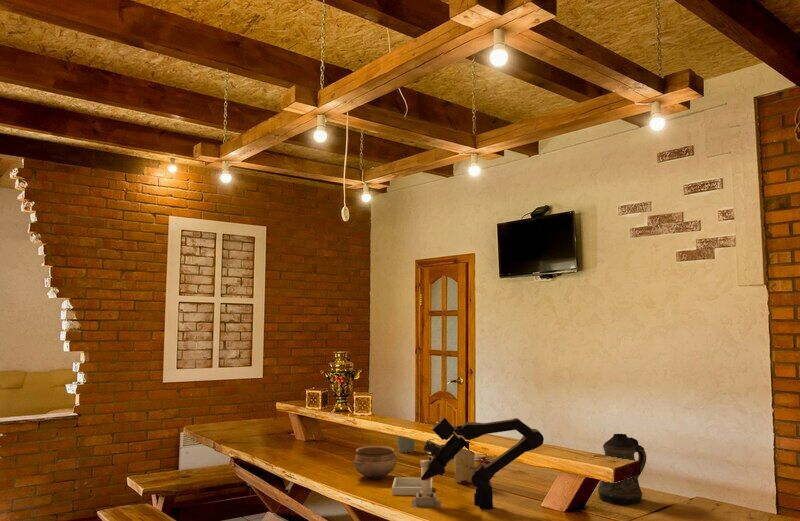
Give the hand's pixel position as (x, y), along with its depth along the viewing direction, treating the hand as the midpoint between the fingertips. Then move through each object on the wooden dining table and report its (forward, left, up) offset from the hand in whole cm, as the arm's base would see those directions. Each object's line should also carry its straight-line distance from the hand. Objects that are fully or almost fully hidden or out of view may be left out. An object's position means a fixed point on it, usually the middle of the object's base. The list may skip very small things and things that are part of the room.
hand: (422, 478), depth 239 cm
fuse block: (-1, 0, -10) cm, 10 cm away
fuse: (-1, 0, -6) cm, 6 cm away
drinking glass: (+12, -99, -10) cm, 100 cm away
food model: (-17, -34, -10) cm, 40 cm away
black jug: (-78, -14, -10) cm, 80 cm away
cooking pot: (+23, -42, -10) cm, 49 cm away
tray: (+5, -19, -10) cm, 22 cm away
